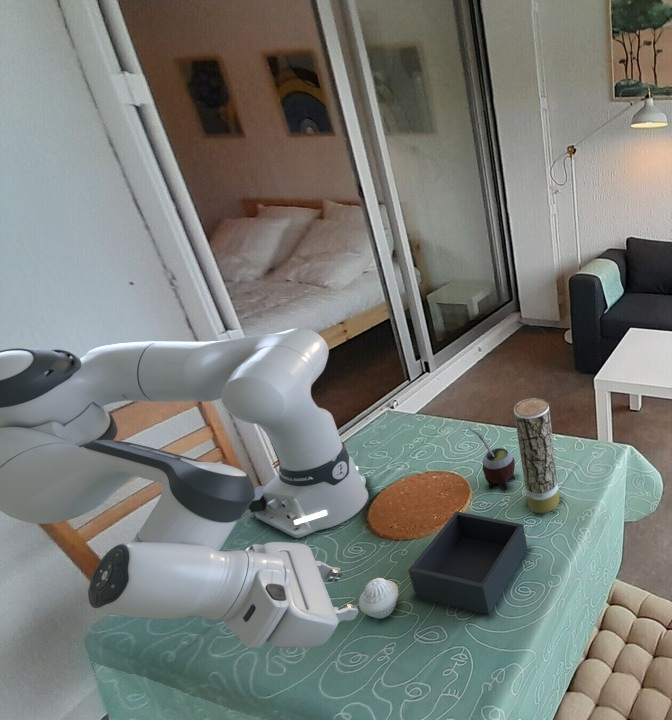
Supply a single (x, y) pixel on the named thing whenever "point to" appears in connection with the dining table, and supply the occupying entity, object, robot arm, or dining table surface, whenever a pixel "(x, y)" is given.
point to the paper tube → (537, 454)
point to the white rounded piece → (379, 598)
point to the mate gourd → (497, 465)
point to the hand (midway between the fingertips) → (347, 593)
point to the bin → (469, 562)
